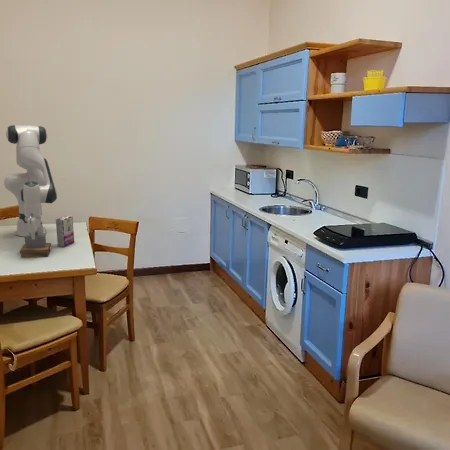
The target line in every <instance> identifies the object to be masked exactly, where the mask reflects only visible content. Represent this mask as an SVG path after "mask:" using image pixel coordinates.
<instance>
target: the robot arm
mask: <svg viewBox="0 0 450 450" xmlns="http://www.w3.org/2000/svg"><path fill="white" fill-rule="evenodd" d="M47 132H48V131H47V129H46V128H45V127H44V126H41V125H40V126H39V125H38V126H37V125H27V124H26V125H24V124H23V125H22V124H21V125H14V124H13V125H9V126H8V127H7V129H6V131H5V136H6V139H7V141H8V142H9V143H11V144H14V145H15V146H16V147H15V152H16V155H15V156H16V157H15V158H16V161H15V162H16V165H17V166H19V167H20V168H22V169H24V170H26V172H22V173H21V172H19V173H12V174H8V175H6V176H5V177H4V180H3V185H4V188H5V189H6V190H7V191H9V192H10V193H12V194H13V195H14V197H15V198H16V200H17V204H18V220H17V221H16V231H15V232H14V236H19V237H25V236H26V235H29V233H31V238H32V240H34V239H35V235H38V227H39V225H40V222H42V223H43V221H42V217H41V216H42V215H43V207H42V206H43V205H42V204H53V203H55V202H56V201H57V198H58V193H57V189H56V187H55V183H54V180H53V177H52V172H51V170H50V169H51V168H50V166H49V163H48V160H47V159H46V158H45V157H44V156H43V155H42V153H41V150H40V145H43V144H45V143H46V142H47V139H48V133H47ZM46 234H47V232H46V229H45V227H44V226H43V235H46Z"/></svg>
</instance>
